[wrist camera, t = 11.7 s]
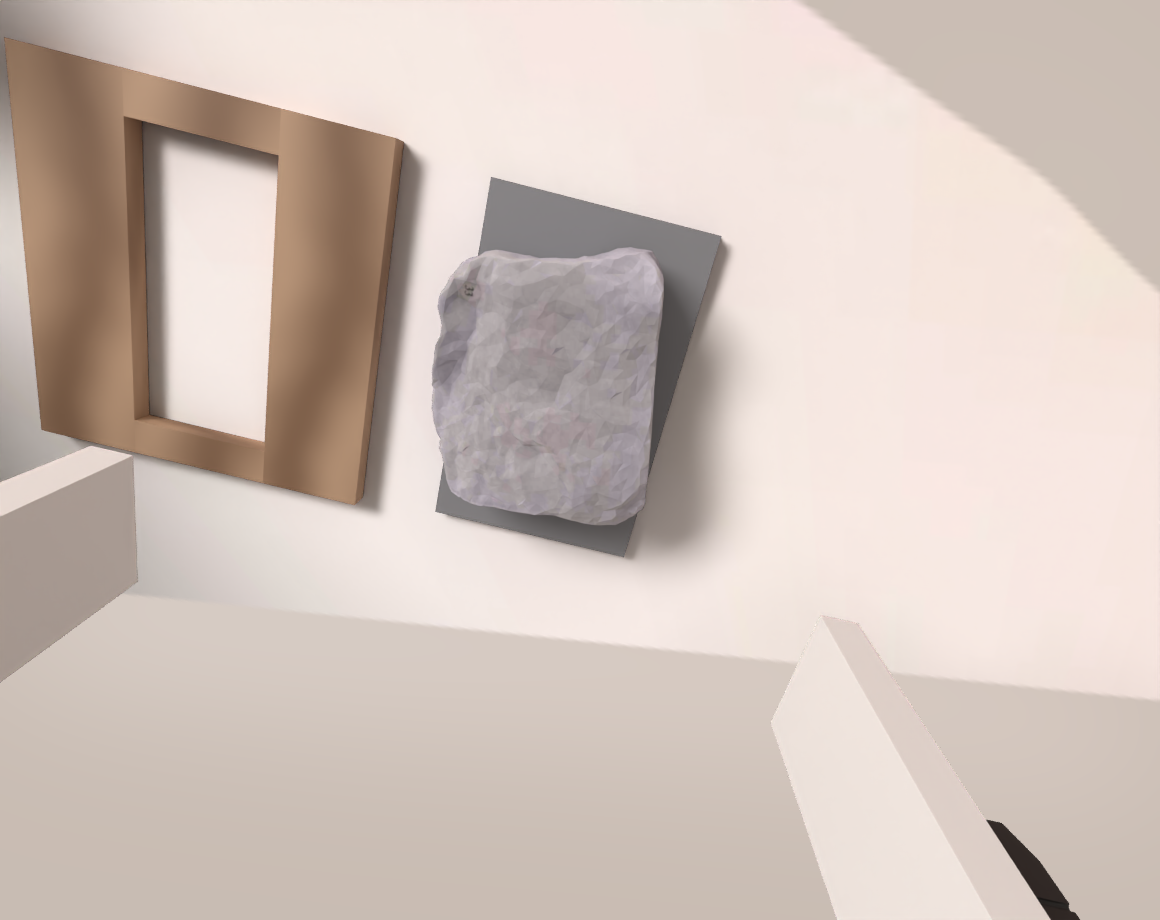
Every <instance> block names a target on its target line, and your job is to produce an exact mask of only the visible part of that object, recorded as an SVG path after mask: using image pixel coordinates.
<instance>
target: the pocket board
mask: <svg viewBox="0 0 1160 920" xmlns="http://www.w3.org/2000/svg"><path fill="white" fill-rule="evenodd" d="M4 41H5V52H6V62H7V73H8V83H9V94H10V104H11V115H12V125H13V136H14V146H15V157H16V167H17V178H18V188H19V199H20V209H21V220H22V230H23V240H24V251H25V261H26V272H27V282H28V293H29V303H30V314H31V324H32V335H33V345H34V356H35V366H36V377H37V387H38V398H39V408H40V419H41V429H42V430H44V431H48V432H52V433H56V434H61V435H65V436H69V437H73V438H77V439H81V440H86V441H90V442H94V443H98V444H102V445H106V446H111V447H115V448H119V449H123V450H127V451H131V452H136V453H140V454H144V455H148V456H152V457H156V458H160V459H165V460H169V461H173V462H177V463H181V464H185V465H190V466H194V467H198V468H202V469H206V470H210V471H215V472H219V473H223V474H227V475H231V476H235V477H240V478H244V479H248V480H252V481H256V482H260V483H265V484H269V485H273V486H277V487H281V488H285V489H290V490H294V491H298V492H302V493H306V494H310V495H315V496H319V497H323V498H327V499H331V500H335V501H340V502H344V503H348V504H352V505H355V504H356V503H357V502H358V501H359V500H360V499H361V498H362V497H363V490H364V482H365V473H366V465H367V456H368V447H369V439H370V430H371V421H372V413H373V404H374V396H375V387H376V378H377V370H378V361H379V353H380V344H381V335H382V327H383V318H384V310H385V301H386V292H387V284H388V275H389V267H390V258H391V249H392V241H393V232H394V224H395V215H396V206H397V198H398V189H399V181H400V172H401V163H402V155H403V146H404V142H403V141H401V140H399V139H396V138H393V137H389V136H385V135H381V134H378V133H374V132H370V131H366V130H362V129H358V128H354V127H350V126H347V125H343V124H339V123H335V122H331V121H327V120H323V119H319V118H316V117H312V116H308V115H304V114H300V113H296V112H292V111H288V110H285V109H281V108H277V107H273V106H269V105H265V104H261V103H257V102H253V101H250V100H246V99H242V98H238V97H234V96H230V95H226V94H222V93H219V92H215V91H211V90H207V89H203V88H199V87H195V86H191V85H188V84H184V83H180V82H176V81H172V80H168V79H164V78H160V77H157V76H153V75H149V74H145V73H141V72H137V71H133V70H129V69H126V68H122V67H118V66H114V65H110V64H106V63H102V62H98V61H95V60H91V59H87V58H83V57H79V56H75V55H71V54H67V53H64V52H60V51H56V50H52V49H48V48H44V47H40V46H36V45H33V44H29V43H25V42H21V41H17V40H13V39H9V38H5V37H4ZM142 121H146V122H149V123H153V124H157V125H161V126H165V127H169V128H173V129H177V130H181V131H185V132H189V133H192V134H196V135H200V136H204V137H208V138H212V139H216V140H220V141H224V142H228V143H232V144H236V145H239V146H243V147H247V148H251V149H255V150H259V151H263V152H267V153H271V154H275V155H279V159H278V180H277V200H276V221H275V241H274V262H273V283H272V303H271V324H270V344H269V365H268V386H267V406H266V427H265V442H261V441H257V440H252V439H248V438H244V437H240V436H236V435H232V434H228V433H223V432H219V431H215V430H211V429H207V428H203V427H199V426H195V425H190V424H186V423H182V422H178V421H174V420H170V419H166V418H162V417H157V416H153V415H149V381H148V342H147V303H146V265H145V226H144V187H143V148H142Z"/></svg>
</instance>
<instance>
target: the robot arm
mask: <svg viewBox="0 0 1160 920" xmlns="http://www.w3.org/2000/svg"><path fill="white" fill-rule="evenodd" d="M137 582H138V577H137V550H136V523H135V496H134V469H133V455H129V454H125V453H120V452H116V451H112V450H107V449H103V448H99V447H94V446H89V447H86V448H84V449H81V450H79V451H76V452H74V453H71V454H69V455H66V456H64V457H61V458H59V459H56V460H54V461H51V462H49V463H46V464H44V465H42V466H39V467H37V468H34V469H32V470H29V471H27V472H24V473H22V474H19V475H17V476H14V477H12V478H9V479H7V480H4V481H2V482H0V682H1V681H3V680H4V679H5V678H7V677H8V676H10V675H11V674H12V673H14V672H15V671H16V670H18V669H19V668H21V667H22V666H23V665H24V664H26V663H27V662H29V661H30V660H32V659H33V658H34V657H36V656H37V655H38V654H40V653H41V652H42V651H44V650H45V649H46V648H48V647H49V646H51V645H52V644H53V643H55V642H56V641H57V640H59V639H60V638H61V637H63V636H64V635H65V634H67V633H68V632H70V631H71V630H72V629H74V628H75V627H77V626H78V625H79V624H81V623H82V622H83V621H85V620H86V619H87V618H89V617H90V616H91V615H93V614H94V613H96V612H97V611H98V610H100V609H101V608H102V607H104V606H105V605H106V604H108V603H109V602H111V601H112V600H113V599H115V598H116V597H117V596H119V595H120V594H122V593H123V592H124V591H126V590H127V589H128V588H130V587H131V586H132V585H134V584H135V583H137ZM771 725H772V728H773V731H774V734H775V737H776V740H777V743H778V746H779V748H780V752H781V755H782V758H783V760H784V764H785V767H786V770H787V773H788V776H789V778H790V781H791V784H792V788H793V791H794V794H795V797H796V799H797V802H798V805H799V808H800V811H801V814H802V817H803V820H804V823H805V826H806V829H807V832H808V835H809V838H810V841H811V844H812V847H813V850H814V853H815V856H816V859H817V862H818V865H819V868H820V871H821V874H822V877H823V880H824V883H825V886H826V889H827V892H828V895H829V897H830V901H831V904H832V906H833V910H834V913H835V915H836V918H837V920H1080V919H1079V917H1078V916H1077V915H1076V913H1074V912H1071V911H1070V910H1069V903H1068V901H1067V900H1066V899H1065V897H1064V896H1063V894H1062V893H1061V892H1060V890H1059V888H1058V887H1057V886H1056V884H1055V883H1054V881H1053V880H1052V879H1051V877H1050V875H1049V874H1048V873H1047V871H1046V870H1045V868H1044V867H1043V865H1042V864H1041V863H1040V861H1039V860H1038V859H1037V858H1036V857H1035V856H1034V855H1033V854H1032V853H1031V852H1030V851H1029V850H1028V849H1027V848H1026V847H1025V846H1024V845H1023V844H1022V843H1021V842H1020V841H1019V840H1018V839H1017V838H1016V837H1015V836H1014V835H1013V834H1012V833H1011V832H1010V831H1009V830H1008V829H1007V828H1006V827H1005V826H1004V825H1003V824H1002V823H999V822H994V821H990V820H986V819H985V818H984V816H983V815H982V813H981V812H980V810H979V808H978V807H977V805H976V804H975V802H974V801H973V800H972V798H971V796H970V795H969V793H968V792H967V790H966V789H965V787H964V785H963V784H962V782H961V781H960V779H959V778H958V776H957V775H956V773H955V772H954V770H953V768H952V767H951V765H950V764H949V762H948V761H947V759H946V758H945V756H944V755H943V753H942V752H941V750H940V749H939V747H938V745H937V744H936V742H935V741H934V739H933V738H932V736H931V735H930V733H929V731H928V730H927V729H926V727H925V725H924V724H923V722H922V721H921V719H920V718H919V716H918V715H917V713H916V711H915V710H914V708H913V707H912V705H911V704H910V702H909V701H908V699H907V698H906V696H905V694H904V693H903V691H902V690H901V689H900V687H899V685H898V684H897V682H896V681H895V679H894V678H893V676H892V674H891V673H890V671H889V670H888V668H887V667H886V665H885V664H884V662H883V661H882V659H881V658H880V656H879V654H878V653H877V651H876V650H875V648H874V647H873V645H872V644H871V642H870V641H869V639H868V637H867V636H866V634H865V633H864V631H863V630H862V628H861V627H860V625H859V624H858V623H854V622H850V621H845V620H841V619H837V618H832V617H828V616H824V615H820V617H819V619H818V621H817V623H816V625H815V628H814V630H813V632H812V634H811V636H810V638H809V641H808V643H807V645H806V647H805V649H804V652H803V654H802V656H801V658H800V660H799V662H798V665H797V667H796V669H795V671H794V673H793V676H792V678H791V680H790V682H789V684H788V686H787V689H786V691H785V693H784V695H783V697H782V699H781V702H780V704H779V706H778V708H777V710H776V712H775V715H774V717H773V719H772V721H771Z"/></svg>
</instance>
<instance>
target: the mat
mask: <svg viewBox="0 0 1160 920" xmlns="http://www.w3.org/2000/svg"><path fill="white" fill-rule="evenodd" d="M720 239H721V236H719V235H715V234H711V233H707V232H703V231H699V230H695V229H691V228H688V227H684V226H680V225H676V224H672V223H668V222H664V221H660V220H656V219H653V218H649V217H645V216H641V215H637V214H633V213H629V212H625V211H621V210H618V209H614V208H610V207H606V206H602V205H598V204H594V203H590V202H587V201H583V200H579V199H575V198H571V197H567V196H563V195H559V194H555V193H552V192H548V191H544V190H540V189H536V188H532V187H528V186H524V185H520V184H517V183H513V182H509V181H505V180H501V179H497V178H493V177H491V181H490V187H489V193H488V199H487V205H486V211H485V217H484V223H483V229H482V235H481V241H480V247H479V253H478V256H479V255H481V254H482V253H484V252H485V251H491V250H503V251H508V252H513V253H518V254H522V255H531V256H534V257H538V258H573V259H576V258H580V257H583V256H595V255H598V254H601V253H606V252H610V251H612V250H615V249H618V248H627V247H633V248H636V249H645V250H650V251H653V253H654V255H655V257H656V258H657V260H658V262H659V264H660V267H661V270H662V274H663V279H664V297H663V307H662V321H661V327H660V333H659V340H658V353H657V363H656V374H655V385H654V402H653V419H652V435H651V448H650V458H649V470H648V476H649V473H650V470H651V466H652V463H653V460H654V457H655V453H656V450H657V447H658V443H659V440H660V437H661V433H662V430H663V427H664V424H665V420H666V417H667V414H668V410H669V407H670V404H671V401H672V397H673V394H674V391H675V387H676V384H677V381H678V378H679V374H680V371H681V368H682V364H683V361H684V358H685V355H686V351H687V348H688V345H689V341H690V338H691V335H692V332H693V328H694V325H695V322H696V318H697V315H698V312H699V308H700V305H701V302H702V299H703V295H704V292H705V289H706V285H707V282H708V279H709V276H710V272H711V269H712V266H713V262H714V259H715V256H716V253H717V249H718V246H719V243H720ZM647 480H648V479H647ZM435 512H439V513H443V514H447V515H451V516H455V517H460V518H464V519H468V520H472V521H476V522H480V523H484V524H489V525H493V526H497V527H501V528H505V529H509V530H514V531H518V532H522V533H526V534H530V535H534V536H538V537H543V538H547V539H551V540H555V541H559V542H563V543H568V544H572V545H576V546H580V547H584V548H588V549H592V550H597V551H601V552H605V553H609V554H613V555H617V556H622V557H624V555H625V552H626V549H627V545H628V542H629V539H630V535H631V532H632V529H633V526H634V522H635V519H636V516H637V513H636V514H635V515H634V516H632V517H630V518H628V519H627V520H625V521H623V522H621V523H619V524H617V525H591V524H584V523H580V522H576V521H571V520H568V519H564V518H561V517H557V516H554V515H531V514H525V513H518V512H512V511H507V510H503V509H497V508H494V507H483V506H478V505H473V504H471V503H469V502H467V501H465V500H463V499H462V498H461V497H458V496H456V495H455V494H454V493H453V492H451V490H450V488H449V486H448V483H447V479H446V473H445V469H444V463H443V469H442V475H441V481H440V487H439V493H438V499H437V505H436V511H435Z"/></svg>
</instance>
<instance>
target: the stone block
mask: <svg viewBox="0 0 1160 920" xmlns="http://www.w3.org/2000/svg"><path fill="white" fill-rule="evenodd" d="M663 297H664V279H663V274H662V270H661V267H660V264H659V262H658V260H657V258H656V257H655V255H654V253H653V251H650V250H645V249H636V248H633V247H627V248H618V249H615V250H612V251H610V252H606V253H601V254H598V255H595V256H583V257H580V258H576V259H573V258H538V257H534V256H531V255H522V254H518V253H513V252H508V251H503V250H491V251H485V252H484V253H482V254H481V255H479V256H476V257H472V258H469V259H467V260H466V261H464V262H462V264H461V265H460V266H459V267H458V269H457V270H456V271H455V272H454V274H453V275H452V276H451V277H450V278H449V280H448V283H447V285H446V286H445V288H444V289H443V290H442V292H441V293H440V296H439V301H438V310H439V314H440V319H441V324H442V327H441V333H440V337H439V339H438V342H437V344H436V347H435V353H434V363H433V368H432V386H433V394H432V411H433V418H434V424H435V427H436V431H437V433H438V435H439V437H440V446H439V449H440V452H441V454H442V458H443V462H444V469H445V473H446V479H447V483H448V486H449V488H450V490H451V492H453V493H454V494H455V495H456V496H458V497H461V498H462V499H463V500H465V501H467V502H469V503H471V504H473V505H478V506H483V507H494V508H497V509H503V510H507V511H512V512H518V513H525V514H531V515H554V516H557V517H561V518H564V519H568V520H571V521H576V522H580V523H584V524H591V525H617V524H619V523H621V522H623V521H625V520H627V519H628V518H630V517H632V516H634V515H635V514H636V513H637V512H638V511H640V510H642V509H643V508H644V505H645V495H646V487H647V479H648V470H649V458H650V448H651V435H652V419H653V402H654V385H655V374H656V363H657V353H658V340H659V333H660V327H661V321H662V307H663Z"/></svg>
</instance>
